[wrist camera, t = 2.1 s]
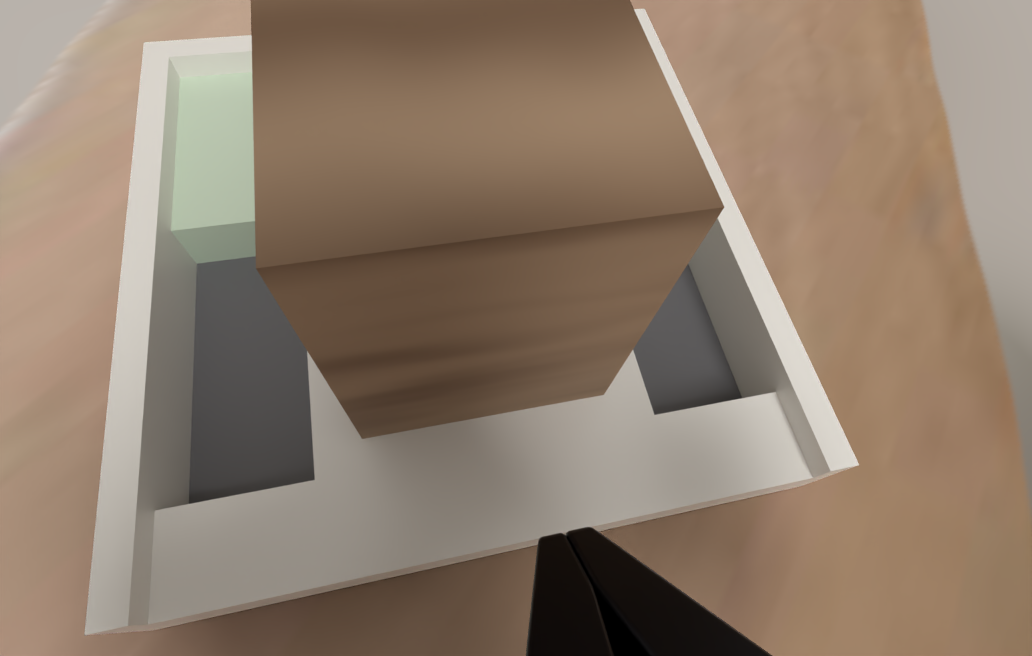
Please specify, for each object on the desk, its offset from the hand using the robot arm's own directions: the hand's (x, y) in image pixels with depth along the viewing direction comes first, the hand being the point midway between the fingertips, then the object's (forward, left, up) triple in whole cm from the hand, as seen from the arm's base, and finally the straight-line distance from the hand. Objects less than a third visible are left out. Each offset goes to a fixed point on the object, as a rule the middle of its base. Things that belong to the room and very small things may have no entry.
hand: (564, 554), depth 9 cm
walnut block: (+8, +4, -8) cm, 12 cm away
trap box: (+11, +5, -11) cm, 16 cm away
